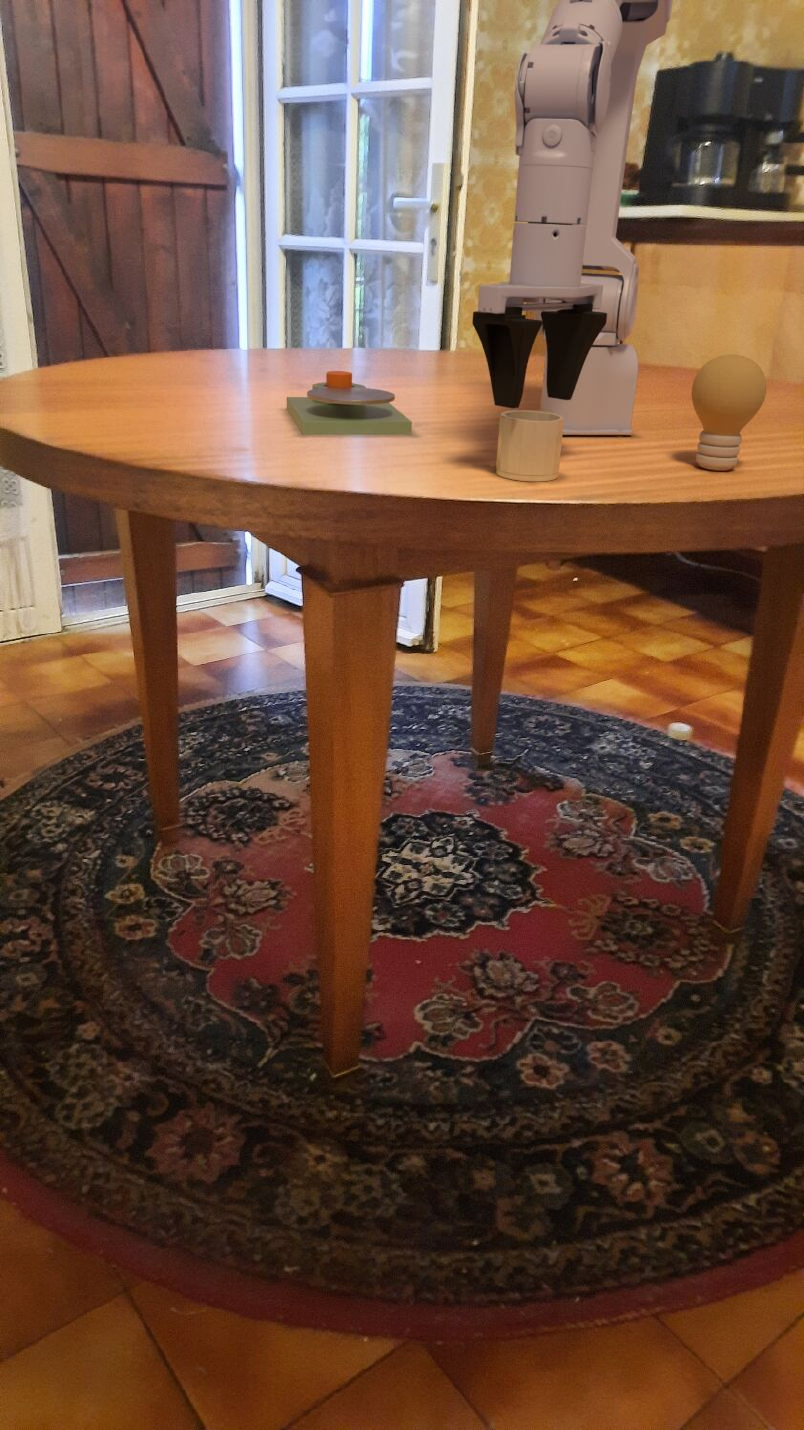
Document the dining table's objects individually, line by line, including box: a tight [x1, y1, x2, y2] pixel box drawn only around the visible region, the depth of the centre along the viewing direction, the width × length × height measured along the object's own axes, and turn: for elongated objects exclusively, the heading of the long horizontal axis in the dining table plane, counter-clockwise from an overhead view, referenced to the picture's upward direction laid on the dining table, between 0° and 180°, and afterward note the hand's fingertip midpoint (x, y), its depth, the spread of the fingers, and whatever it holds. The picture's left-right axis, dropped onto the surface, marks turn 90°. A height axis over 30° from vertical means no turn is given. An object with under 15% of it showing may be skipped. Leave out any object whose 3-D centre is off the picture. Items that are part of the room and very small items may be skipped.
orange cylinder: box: [325, 370, 353, 387], centre depth 111 cm, size 3×3×2 cm
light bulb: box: [691, 354, 767, 472], centre depth 92 cm, size 6×6×10 cm
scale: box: [286, 381, 413, 436], centre depth 108 cm, size 15×11×3 cm
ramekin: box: [495, 409, 564, 483], centre depth 88 cm, size 5×5×5 cm
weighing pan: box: [306, 387, 396, 405], centre depth 104 cm, size 9×9×1 cm
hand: (533, 402), depth 86 cm, fingers open, 7 cm apart
